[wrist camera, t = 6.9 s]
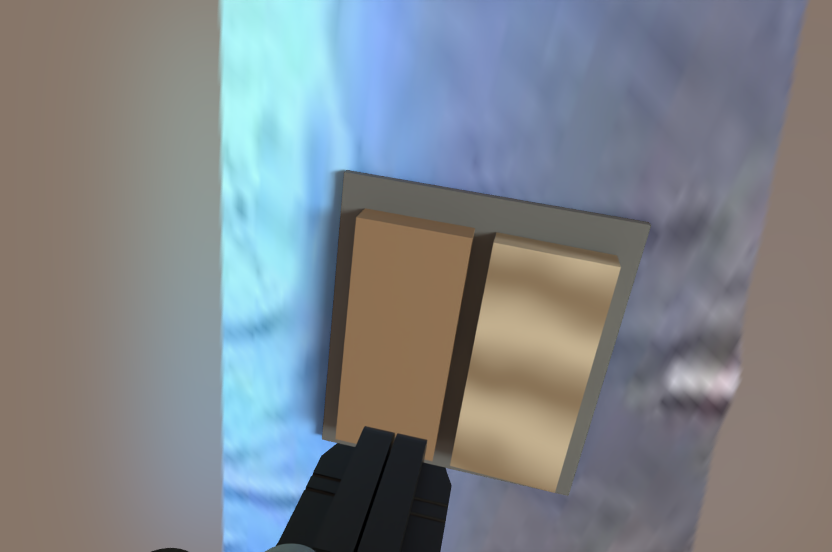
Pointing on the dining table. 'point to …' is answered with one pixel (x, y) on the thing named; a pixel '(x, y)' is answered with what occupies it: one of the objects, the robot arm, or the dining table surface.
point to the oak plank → (532, 358)
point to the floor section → (441, 304)
